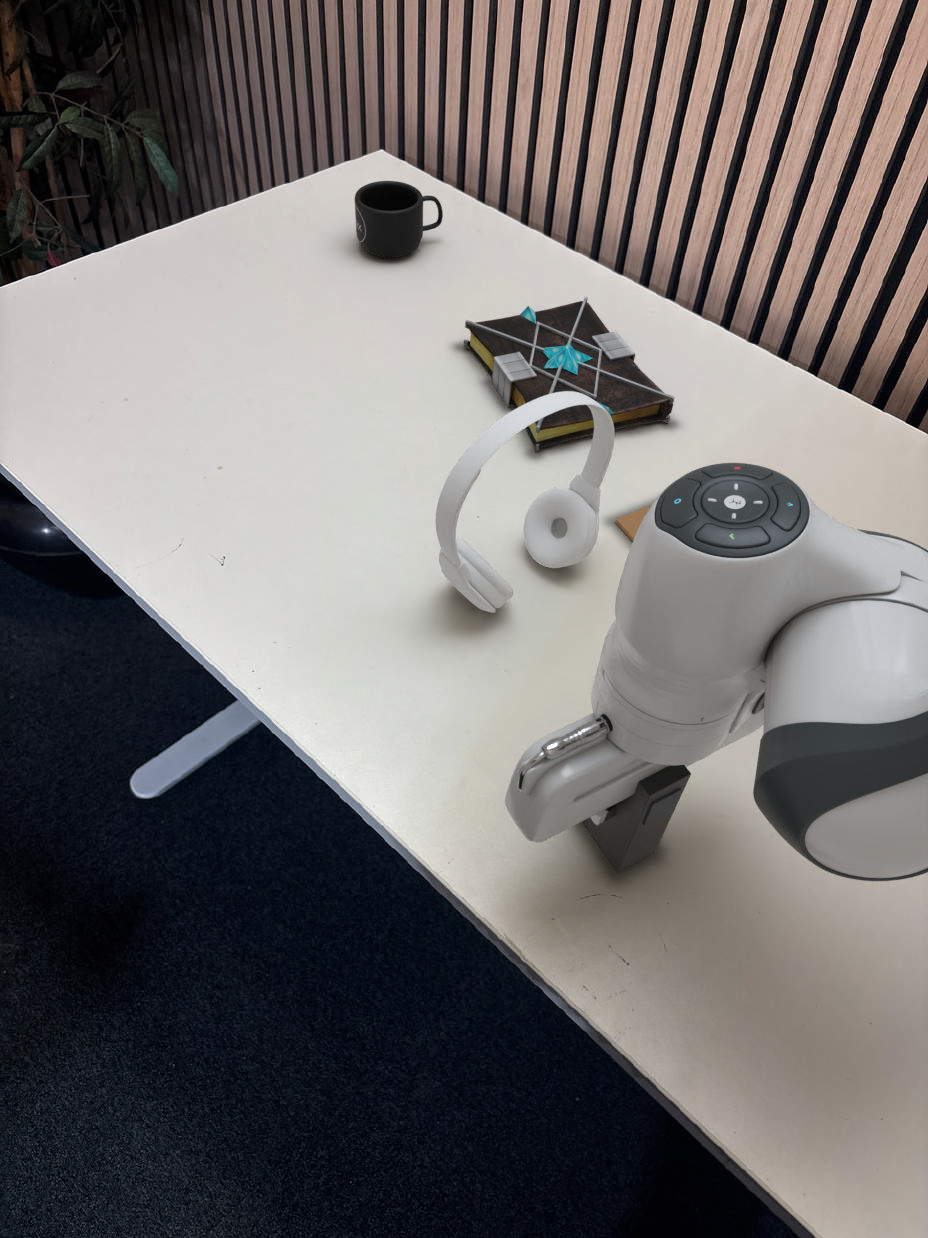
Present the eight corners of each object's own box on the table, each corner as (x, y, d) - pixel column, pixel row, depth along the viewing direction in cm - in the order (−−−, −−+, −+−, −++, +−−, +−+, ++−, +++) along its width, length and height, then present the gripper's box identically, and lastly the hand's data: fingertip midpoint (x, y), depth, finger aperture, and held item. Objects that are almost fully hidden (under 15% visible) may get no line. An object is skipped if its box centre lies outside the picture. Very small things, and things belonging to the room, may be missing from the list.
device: (656, 854, 70) (693, 775, 61) (619, 875, 69) (650, 797, 59) (609, 791, 73) (638, 707, 64) (573, 809, 72) (597, 726, 63)
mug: (366, 268, 122) (364, 216, 116) (349, 235, 127) (346, 183, 121) (452, 256, 124) (453, 205, 119) (432, 224, 130) (432, 173, 124)
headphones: (610, 559, 89) (651, 390, 74) (464, 647, 82) (475, 479, 66) (561, 517, 93) (591, 347, 77) (416, 598, 85) (417, 427, 70)
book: (670, 423, 103) (680, 386, 99) (535, 455, 99) (540, 418, 95) (584, 320, 116) (589, 284, 112) (460, 345, 111) (462, 308, 107)
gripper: (552, 802, 51) (528, 901, 62) (822, 666, 58) (758, 775, 69) (495, 718, 54) (481, 825, 65) (756, 599, 61) (705, 713, 72)
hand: (625, 799), depth 67 cm, fingers closed on device, 3 cm apart
